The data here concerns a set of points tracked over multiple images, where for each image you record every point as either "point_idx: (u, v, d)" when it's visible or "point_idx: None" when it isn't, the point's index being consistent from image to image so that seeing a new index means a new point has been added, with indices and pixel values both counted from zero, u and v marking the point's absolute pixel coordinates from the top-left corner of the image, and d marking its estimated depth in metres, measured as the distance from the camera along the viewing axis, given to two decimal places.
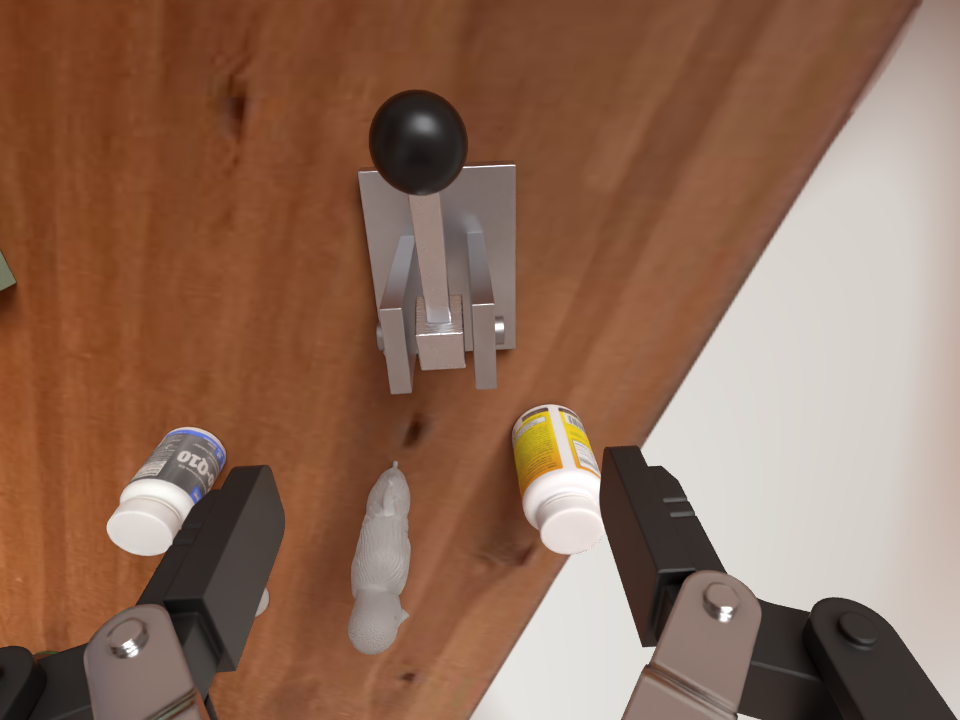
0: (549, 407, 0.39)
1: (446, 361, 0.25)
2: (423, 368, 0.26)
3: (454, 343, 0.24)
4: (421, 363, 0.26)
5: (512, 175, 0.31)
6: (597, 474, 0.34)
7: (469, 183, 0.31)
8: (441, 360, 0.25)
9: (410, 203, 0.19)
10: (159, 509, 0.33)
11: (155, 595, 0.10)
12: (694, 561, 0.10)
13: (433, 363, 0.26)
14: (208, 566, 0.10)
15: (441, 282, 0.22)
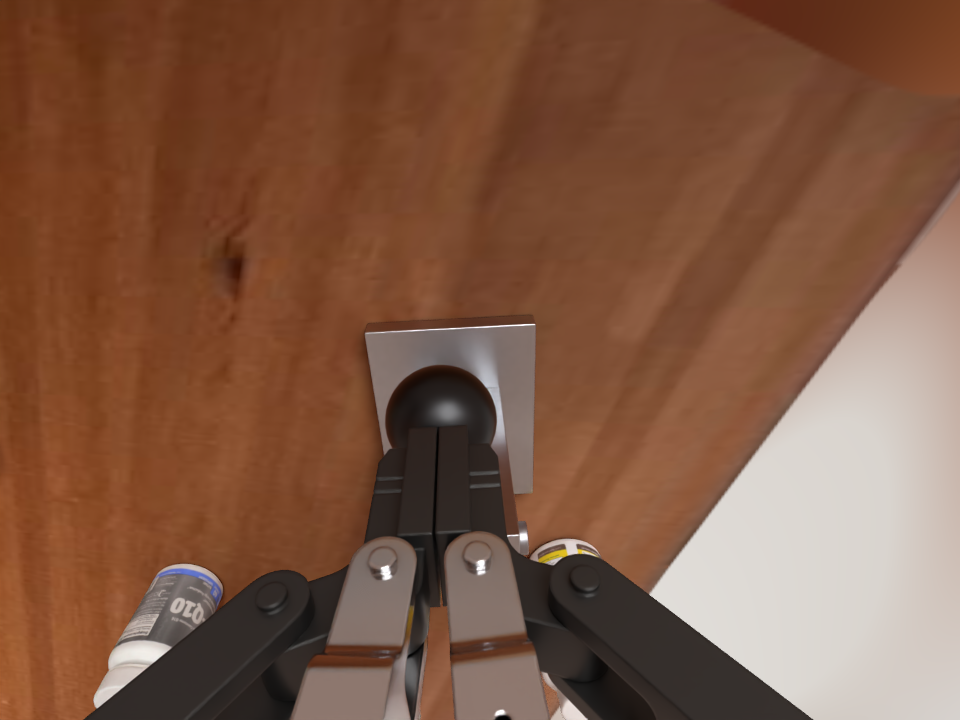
0: (566, 543, 0.37)
1: None
2: None
3: None
4: None
5: (532, 334, 0.28)
6: None
7: (485, 342, 0.28)
8: None
9: None
10: None
11: (379, 535, 0.11)
12: (482, 525, 0.11)
13: None
14: (425, 509, 0.11)
15: None
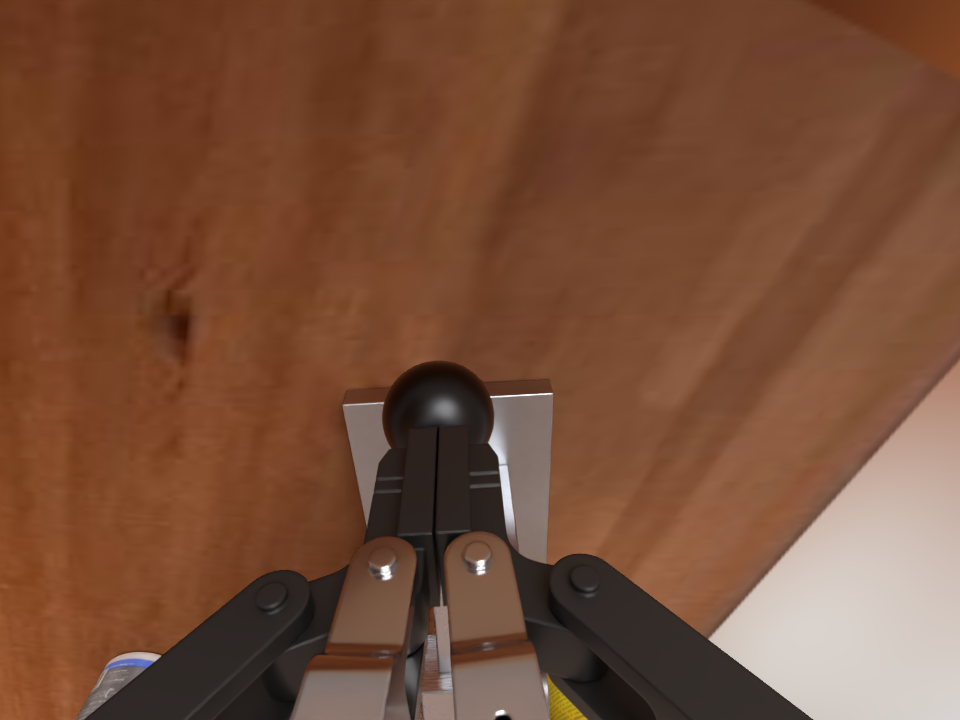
0: None
1: None
2: None
3: None
4: None
5: (548, 405, 0.23)
6: None
7: None
8: None
9: None
10: None
11: (379, 535, 0.11)
12: (482, 526, 0.11)
13: None
14: (425, 509, 0.11)
15: None
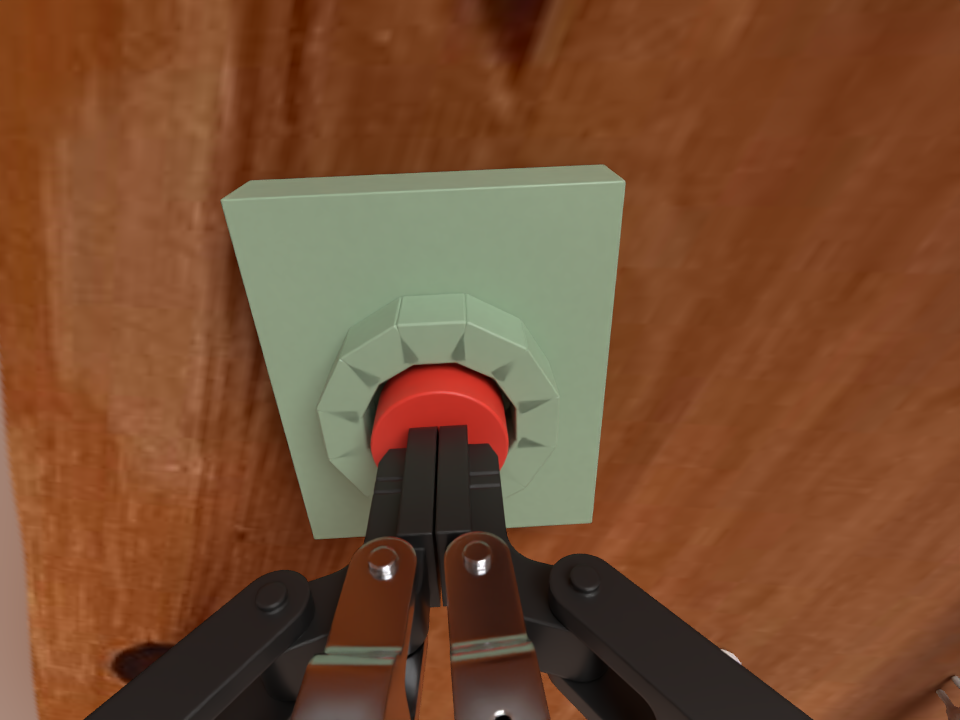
0: None
1: None
2: None
3: None
4: None
5: None
6: None
7: None
8: None
9: None
10: None
11: (379, 535, 0.11)
12: (482, 526, 0.11)
13: None
14: (425, 508, 0.11)
15: None
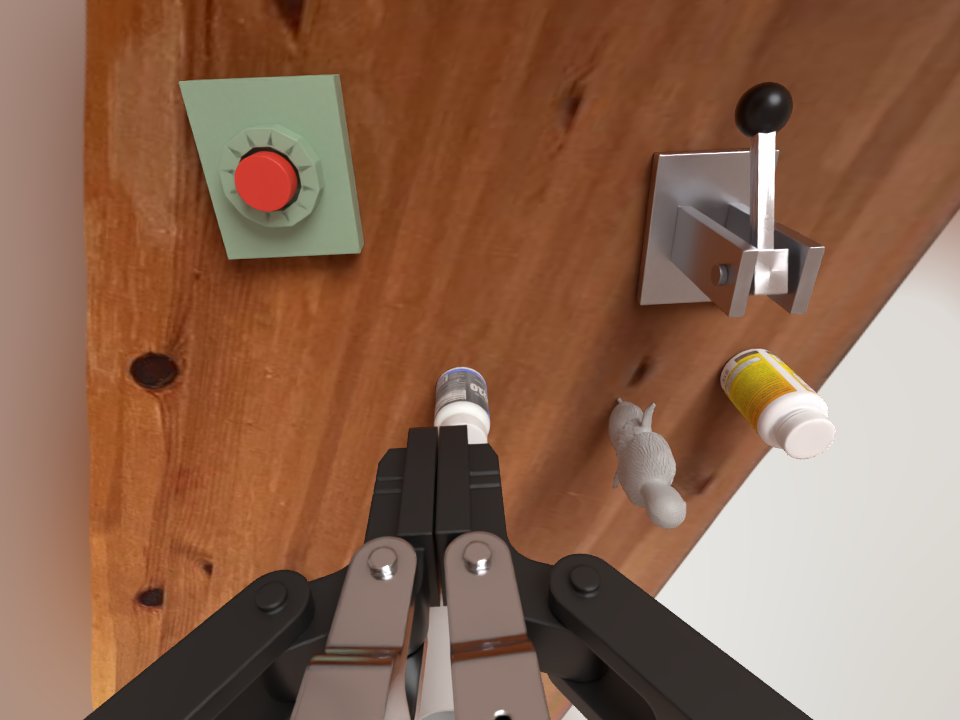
0: (758, 350, 0.48)
1: (774, 283, 0.33)
2: (756, 291, 0.33)
3: (781, 259, 0.33)
4: (755, 285, 0.33)
5: (775, 158, 0.39)
6: None
7: (741, 164, 0.40)
8: (770, 281, 0.33)
9: (759, 141, 0.33)
10: (479, 423, 0.42)
11: (379, 535, 0.11)
12: (482, 525, 0.11)
13: (764, 284, 0.33)
14: (425, 508, 0.11)
15: (770, 208, 0.34)
